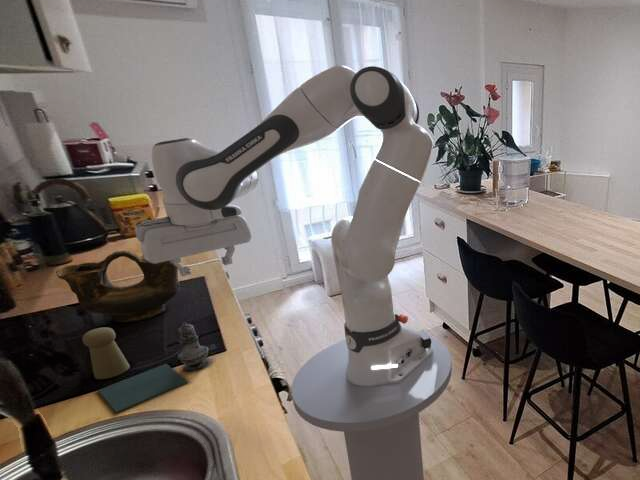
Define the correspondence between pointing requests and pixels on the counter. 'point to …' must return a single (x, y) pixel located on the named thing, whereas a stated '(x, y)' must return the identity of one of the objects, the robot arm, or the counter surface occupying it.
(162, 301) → the pottery vessel
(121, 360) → the cork
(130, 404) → the felt mat
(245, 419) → the counter surface
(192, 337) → the grey stone statuette
